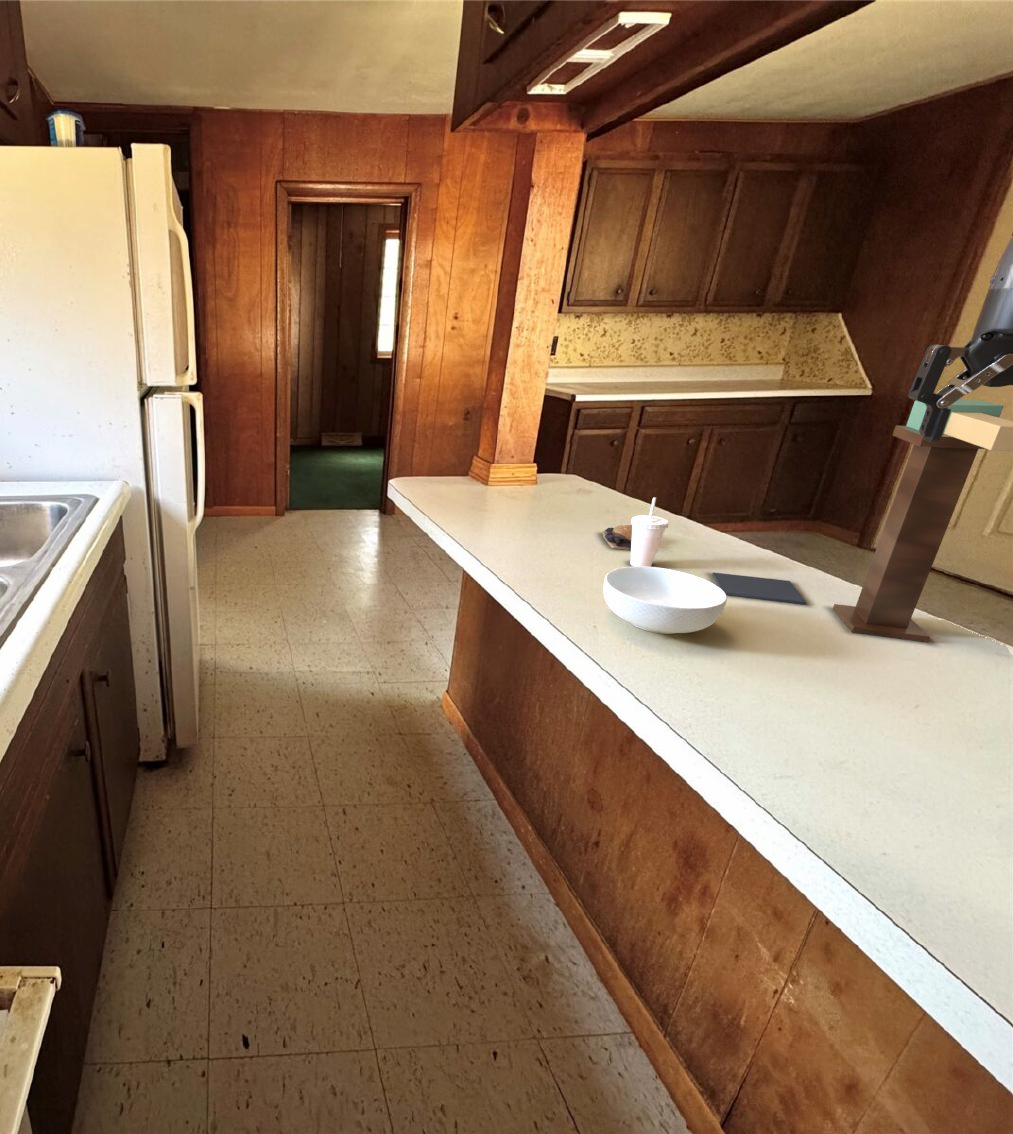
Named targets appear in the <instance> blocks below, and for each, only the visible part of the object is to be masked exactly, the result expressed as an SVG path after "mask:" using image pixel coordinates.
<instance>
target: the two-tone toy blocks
mask: <svg viewBox="0 0 1013 1134" xmlns="http://www.w3.org/2000/svg"><path fill="white" fill-rule="evenodd" d="M1004 406H1005V405H1002V404H998V403H994V402H990V401H986V400H982V399H959V400H957V401H956V402H955V403H953V404H952V405H950V406H949V407H948V409H951V412H950V414H949V417H948V420H947V423H946V425H945V428H944V431H943V434H946V435H949V436H952V437H955V438H957V439H960V440H963V441H966V442H969V443H972V444H974V445H977V446H980V447H983V448H986V449H985V450H989V451H996V452H997V451H999V452H1013V421H1012V420H1009V419H1005V418H1001V414H1002V412H1003V410H1004ZM926 409H927V407H926V405H925V404H924V403H922V402H919V401H916V400H914V403H913V406H912V408H911V410H910V414H909V416H908V420H907V421H906V425H905V426H907V427H910V428H912V429H915V430H918V431H919V429H920V426H921V423H922V420H923V417H924V415H925V412H926Z"/></svg>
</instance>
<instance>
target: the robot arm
mask: <svg viewBox="0 0 1013 1134" xmlns="http://www.w3.org/2000/svg"><path fill="white" fill-rule="evenodd" d="M989 280H990V281H989V286H988V290H987V293H986V296H985V297H984V298H985V299H984V301H983V304H982V306H981V309H980V312H979V314H978V318H977V320H976V323H975V326H974V328H973V333H972V337H971V338H970V340H969V341H968V342H967V343H966V344H965V345H964V346H949V345H943V344H931V345H929V346H928V347H927V348H926V350H925V353H924V355H923V357H922V359H921V362H920V365H919V367H918V370H917V372H916V374H915V377H914V378H913V382H912V383H911V386H910V389H909V391H908V393H907V397H908V398H909V399H910V400H913V401H915V400H916V401H919V402H922V403H924V404H925V405H926V407H927V409H926V412H925V415H924V417H923V420H922V423H921V426H920V429H919V432H920V435H923V436H924V437H923V438H924V440H926V441H928V442H939V441H940V439H941V436H942V434H943V431H944V428H945V425H946V423H947V420H948V417H949V414H950V412H951V409H948V407H949V406H950V405H952V404H953V403H955V402H956V401H957V400H961V399H962V398H963V397H964V396H966V395H968V394H972V393H973V392H975V391H976V390H978V389H979V388H980V387H982V386H983V387H988V388H1002V387H1008V386H1013V232H1012V234H1011V237H1010V239H1009V241H1008V243H1007V245H1006V247H1005V249H1004V251H1003V253H1002V254H1001V257H1000V258H999V261H998V262H997V265H996V268H995V270H994V273H992V275H991V277H990V279H989ZM958 358H960V360H961V362H962V363H963V365H964V366H965V368H964V369H963V370H961V371H960V372H959V373H957V374H956V375H954V376H953V377H952V378H951V379H949V380H948V381H947V382H946V384H945V385H944V386H942V388H940V389H938V390H937V391H936V392H935V390H936V388H937V386H938V383H939V381H940V379H941V376H942V375H943V372H944V370H945V368H946V367H949V366H951V365H952V364H953V363H954V362H955V361H956V360H957V359H958Z"/></svg>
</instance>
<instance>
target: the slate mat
mask: <svg viewBox="0 0 1013 1134" xmlns="http://www.w3.org/2000/svg"><path fill="white" fill-rule="evenodd" d="M711 576H712V577H713V579H714V581H715V584H716V586H718V587H719V588H721V589H722V590H723V591H724V592H725V594H726V596H732V597H738V598H739V597H740V598H747V599H757V600H764V601H771V602H772V601H773V602H779V603H789V604H797V605H807V601H806V600H805V599H804V597H803V596H802V594H800V592H799V590H798V589H797V588H796V587H795V585H794V584H793V583H792V581H790V580H785V579H776V578H767V577H757V576H748V575H741V574H731V573H722V572H712V575H711Z"/></svg>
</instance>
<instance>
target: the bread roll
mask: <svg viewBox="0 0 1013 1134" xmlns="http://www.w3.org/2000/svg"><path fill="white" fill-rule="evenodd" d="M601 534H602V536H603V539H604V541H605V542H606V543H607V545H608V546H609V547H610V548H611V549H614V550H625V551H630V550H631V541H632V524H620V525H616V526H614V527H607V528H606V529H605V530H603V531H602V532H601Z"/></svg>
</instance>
